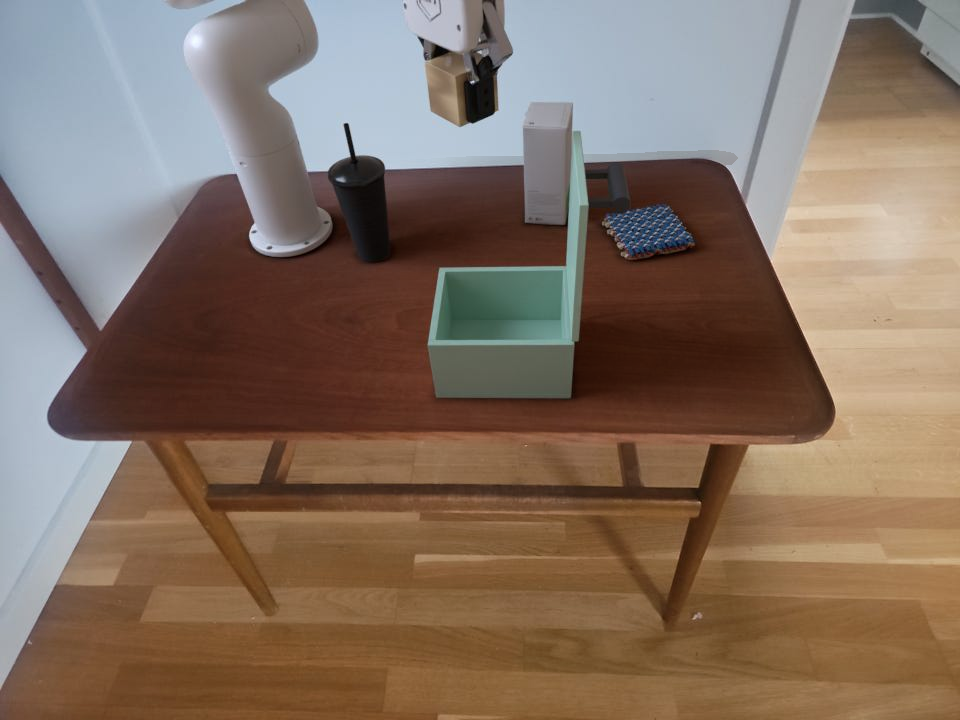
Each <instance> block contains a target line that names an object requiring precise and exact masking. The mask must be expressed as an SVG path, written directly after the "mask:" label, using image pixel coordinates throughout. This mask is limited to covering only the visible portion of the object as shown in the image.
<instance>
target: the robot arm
mask: <svg viewBox="0 0 960 720" xmlns="http://www.w3.org/2000/svg"><path fill="white" fill-rule="evenodd" d="M162 1H163V2H164V3H165V4H166V5H167V6H169V7H170V8H173V9H176V10H189V9H190V10H191V9H194V8H198V7H200V6H203V5H206V4H209V3H211V2H214V1H215V0H162ZM402 8H403V15H404V21H405V26H406V28H407V29H408V30H409V31H410V32H411V33H412V34H414V36H417V39H418V41H419V43H420V44H421V47H422V48H423V53H422V54H423V55H422V56H423V60H424V62H426V61H429V60H431V59H434V58H437V57H439V56H442V55H445V54H447V53H450V52H455V53H457V54H462V56H463V61H464V65H465V69H466V73H467V77H468V80H469V81H466V82H464V91H465V103H466V115H467V121H468V122H470V123H469V124H472V125H474V124H477V123H478V122H480V121H483V120H484V119H487V118H489V117H491V116H494V115H495V113H496V112H495V95H494V76H496V75H497V76H498V74H499V69H500V68H501V67H502V66H503V64H504V63H505V62H506V61H508V59H510V57H512V56H513V54H514V48H513V46H512V43H511V41H510V39H509V37H508V34H507V31H506V30H505V26H506V25H505V23H506V22H505V17H506V15H505V0H402ZM314 20H315V19H314V18H313V16H312V14H311V11H310V9H309V7H308V5H307V3H306V1H305V0H244V1H242V2H240V3H238V4H237V3H236V4H234V5H231V6H229V7H226V8H224V9H222V10H220V11H217V12H215V13H212V14H210V15H208V16H206V17H204V18H202V19H201V20H200V21H198V22H197V23H196V24H194V25H193V26H192V27H191V28H190V29H189V31H188V32H187V34H186V36H185V38H184V41H183V45H182V47H183V48H182V51H183V58H184V61H185V64H186V66H187V69H188V71H189V72H190V75H191V76H192V78H193V80H194V82H195V83H196V85H197V86H198V88H199V89H200V92H201V93H202V95H203V96H204V98H205V100H206V102H207V104H208V106H209V108H210V109H211V112H212V114H213V117H214V118H215V121H216V123H217V126H218V128H219V131H220V133H221V137H222V139H223V141H224V144H225V147H226V149H227V152H228V155H229V157H230V160H231V163H232V165H233V168H234V170H235V174H236V176H237V179H238V181H239V184H240V187H241V189H242V192H243V195H244V197H245V200H246V202H247V205H248V208H249V211H250V214H251V217H252V220H253V222H254V223H253V224H252V226H251V227H250V230H249V232H248V233H249V234H248V239H249V241H250V244H251V246H252V248H253V249H255V251H257V252H258V253H259V254H262V255H264V256H269V257H273V258H288V257H290V258H291V257H295V256H299V255H303V254H307V253H309V252H310V251H312V250H315V249H316V248H318V247H319V246H321V245H322V244H323V243H325V241H327V239H328V238H329V237H330V235H331V234H332V231H333V221H332V217H331V215H330V214H329V212H328V211H326V210H325V209H324V208H321V207H320V206H317V201H316V197H315V195H314V191H313V188H312V183H311V180H310V176H309V173H308V169H307V165H306V161H305V157H304V155H303V152H302V151H303V150H302V148H301V144H300V140H299V137H298V133H297V131H296V127H295V124H294V121H293V117H292V116H291V114H290V112H289V111H288V109H286V107H285V106H284V105H283V104H282V103H280V102H279V101H278V100H276V99H275V98H274V97H273V96H272V95H271V94H270V91H269V90H270V89H269V88H270V87H271V86H272V85H274V84H276V83H277V82H279V81H280V80H282V79H284V78H286V77H287V76H289V75H291V74H293V73H295V72H297V71H298V70H301V69H302V68H304V67H305V66H307V65H308V64H310V63H311V62H312V61H313V60H314V59H315V57H316V55H317V53H318V50H319V41H320V40H319V34H318V29H317V25H316V23H315V21H314ZM480 51H481V54H482V55H483V58H482V59H481V60H480V61H479V63H478V64H476V60H475V55H474V53H475V52H478V53H479V52H480Z"/></svg>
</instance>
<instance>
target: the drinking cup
mask: <svg viewBox="0 0 960 720" xmlns="http://www.w3.org/2000/svg"><path fill="white" fill-rule="evenodd" d="M342 126H343V130H344V134H345V139H346V142H347V148H348V153H349V156H348V157H344V158H342V159H340V160H338V161H336V162H335V163H333V164H332V165H331V166H330V167H329V168H328V170H327V180H328V181H329V182H330V184H331V185H332V188H333V191H334V193H335V197H336V198H337V202H338V204H339V207H340V210H341V213H342V215H343V218H344V220H345V223H346V224H345V225H346V227H347V229H348V232H349V235H350V237H351V240H352V243H353V246H354V248H355V251H356V254H357V257H358V258H359V260H361V262H364V263H368V264H369V263H370V264H371V263H372V264H374V263H378V262H382V261H384V260H386V259H387V258H388V257H389V256H390V255H391V241H390V230H389V219H388V218H389V217H388V208H387V206H388V205H387V195H386V184H385V183H386V182H385V173H386V165H385V163H384V161H382V160H381V159H380V158H378V157H376V156H372V155H366V154H365V155H360V154H359V155H357V154H356V151H355V147H354V142H353V141H354V140H353V137H352V133H351V128H350V124H349V123H348V122H345V123H343V125H342Z"/></svg>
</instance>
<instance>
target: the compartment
mask: <svg viewBox="0 0 960 720" xmlns="http://www.w3.org/2000/svg"><path fill="white" fill-rule="evenodd" d="M438 268H439V269H438V275H437V282H436V289H435V295H434V301H433V307H432V314H431V321H430V327H429V334H428V341H427V350H428V354H429V355H428V356H429V362H430V368H431V373H432V379H433V386H434V392H435V397H436V399H572V391H573V389H572V387H573V373H574V361H575V360H574V357H575V341H571V333H570V316H569V300H568V283H567V267H566V265H558V266H557V265H551V266H549V265H547V266H546V265H542V266H541V265H540V266H539V265H538V266H466V267H465V266H464V267H463V266H461V267H438Z"/></svg>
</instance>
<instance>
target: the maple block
mask: <svg viewBox="0 0 960 720" xmlns="http://www.w3.org/2000/svg"><path fill="white" fill-rule="evenodd" d="M474 55H475V60H476V64H478V63H479V61H480V60H481V59H482V58H483V55H482V53H480V52H479V51H478V52H475V53H474ZM424 68H425V77H426V84H427V93H428V94H427V95H428V100H429V109H430V113H433V114H434V115H437V116H439V117H441V118H442V119H444V120H446V121H448V122H450V123H451V124H453V125H455V126H456V127H458V128H461V127H465V126H466V125H468V124H471V123H470V122H468V121H467V115H466V103H465V91H464V82H466V81H469V80H468V77H467V73H466V69H465V65H464V61H463V56H462V54H457V53H455V52H450V53H447V54H445V55H442V56H439V57H437V58H434V59H431V60H429V61H424ZM498 91H499V90H498V74H497V75H496V76H494V95H495V113H496V112H499V92H498Z"/></svg>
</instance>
